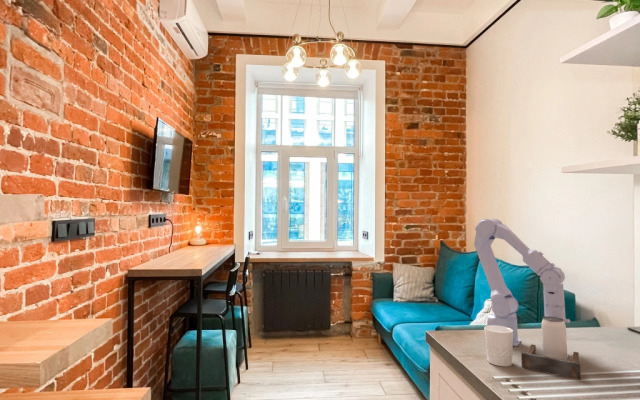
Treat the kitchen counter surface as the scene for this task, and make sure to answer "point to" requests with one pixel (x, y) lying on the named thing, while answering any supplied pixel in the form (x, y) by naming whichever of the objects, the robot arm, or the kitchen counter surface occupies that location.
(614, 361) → the kitchen counter surface
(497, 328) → the white cup
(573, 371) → the bay
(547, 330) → the can
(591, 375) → the kitchen counter surface
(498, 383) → the kitchen counter surface
